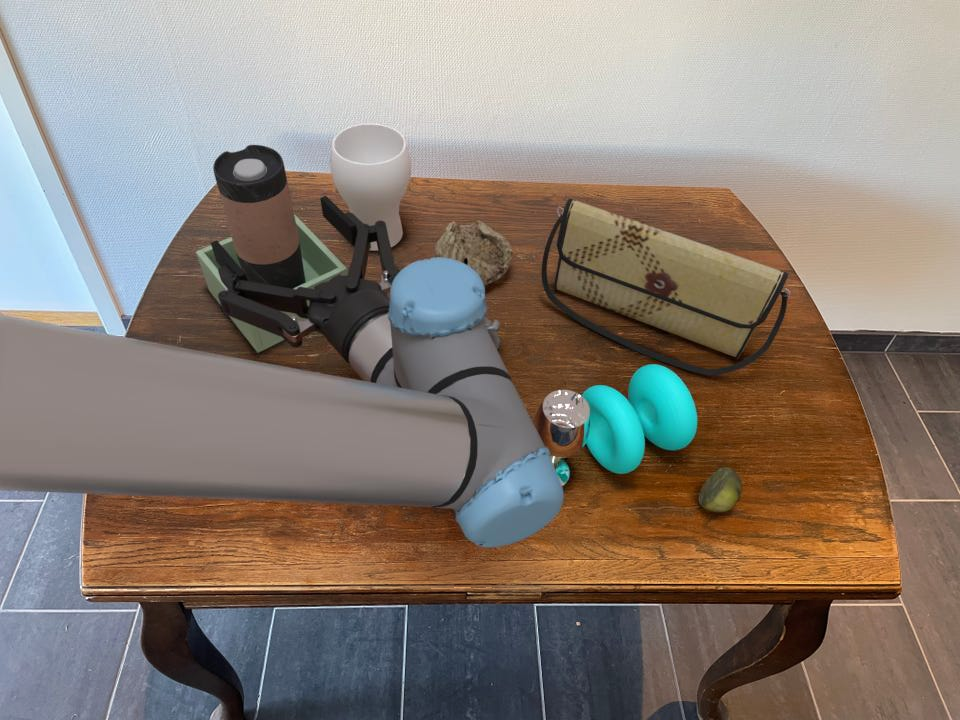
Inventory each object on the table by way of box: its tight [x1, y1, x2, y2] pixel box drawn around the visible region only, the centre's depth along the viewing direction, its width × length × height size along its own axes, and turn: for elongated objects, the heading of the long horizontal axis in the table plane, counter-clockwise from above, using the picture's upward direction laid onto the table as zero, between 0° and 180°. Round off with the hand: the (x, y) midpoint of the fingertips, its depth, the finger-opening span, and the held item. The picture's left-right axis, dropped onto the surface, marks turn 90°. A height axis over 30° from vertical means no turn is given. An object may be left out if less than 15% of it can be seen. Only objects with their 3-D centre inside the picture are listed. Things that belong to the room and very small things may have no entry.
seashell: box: [434, 220, 514, 288], centre depth 95 cm, size 11×7×10 cm
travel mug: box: [212, 144, 306, 289], centre depth 83 cm, size 8×8×20 cm
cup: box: [329, 122, 412, 252], centre depth 95 cm, size 11×11×15 cm
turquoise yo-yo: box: [581, 363, 698, 475], centre depth 76 cm, size 10×10×10 cm
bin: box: [195, 213, 349, 354], centre depth 89 cm, size 14×14×7 cm
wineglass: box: [532, 389, 591, 487], centre depth 72 cm, size 6×6×12 cm
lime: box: [698, 466, 743, 513], centre depth 74 cm, size 4×5×5 cm
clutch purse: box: [541, 197, 791, 377], centre depth 85 cm, size 30×7×15 cm, turn 63°
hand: (272, 227), depth 79 cm, fingers open, 13 cm apart
